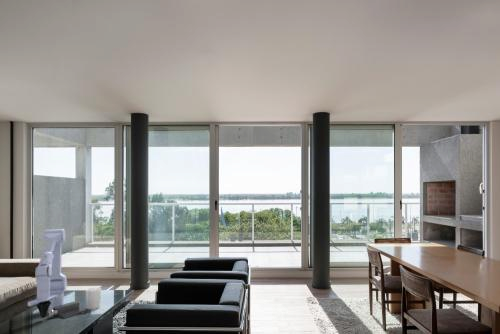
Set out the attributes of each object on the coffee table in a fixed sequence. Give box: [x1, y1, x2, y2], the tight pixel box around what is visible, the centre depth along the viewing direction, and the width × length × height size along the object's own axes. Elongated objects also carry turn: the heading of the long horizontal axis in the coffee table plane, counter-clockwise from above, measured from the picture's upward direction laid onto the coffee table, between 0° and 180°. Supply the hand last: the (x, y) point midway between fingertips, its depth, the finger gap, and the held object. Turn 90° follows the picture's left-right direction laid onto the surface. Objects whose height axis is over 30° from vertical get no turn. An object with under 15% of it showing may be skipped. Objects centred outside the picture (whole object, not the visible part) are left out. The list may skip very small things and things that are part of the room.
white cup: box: [85, 287, 102, 310], centre depth 207 cm, size 8×8×10 cm
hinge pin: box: [47, 310, 57, 318], centre depth 196 cm, size 14×4×4 cm, turn 149°
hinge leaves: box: [46, 301, 87, 319], centre depth 198 cm, size 12×16×4 cm
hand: (43, 317), depth 187 cm, fingers closed
